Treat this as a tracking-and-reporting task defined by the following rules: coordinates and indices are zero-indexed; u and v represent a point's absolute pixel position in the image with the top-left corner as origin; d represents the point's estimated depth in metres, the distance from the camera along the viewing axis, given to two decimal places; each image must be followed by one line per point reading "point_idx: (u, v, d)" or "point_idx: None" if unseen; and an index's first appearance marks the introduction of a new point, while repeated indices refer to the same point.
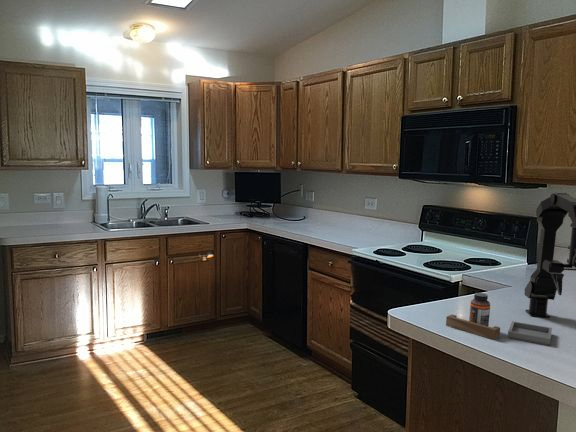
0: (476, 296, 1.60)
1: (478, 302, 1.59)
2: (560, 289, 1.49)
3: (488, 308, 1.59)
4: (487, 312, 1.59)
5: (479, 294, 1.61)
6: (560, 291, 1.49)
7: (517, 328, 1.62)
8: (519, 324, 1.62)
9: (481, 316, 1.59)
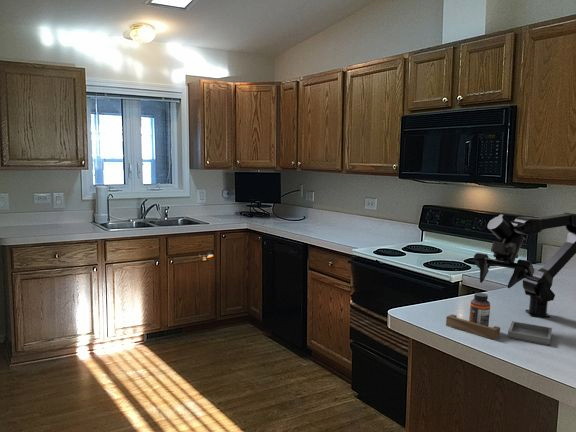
0: (476, 296, 1.60)
1: (478, 302, 1.59)
2: (481, 275, 1.69)
3: (488, 308, 1.59)
4: (487, 312, 1.59)
5: (479, 294, 1.61)
6: (480, 277, 1.69)
7: (517, 328, 1.62)
8: (519, 324, 1.62)
9: (481, 316, 1.59)
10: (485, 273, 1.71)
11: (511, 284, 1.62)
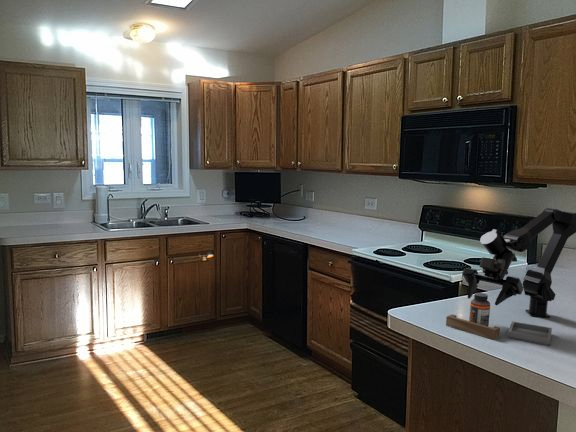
0: (476, 296, 1.60)
1: (478, 302, 1.59)
2: (469, 291, 1.66)
3: (488, 308, 1.59)
4: (487, 312, 1.59)
5: (479, 294, 1.61)
6: (468, 293, 1.66)
7: (517, 328, 1.62)
8: (519, 324, 1.62)
9: (481, 316, 1.59)
10: (473, 289, 1.68)
11: (499, 301, 1.59)
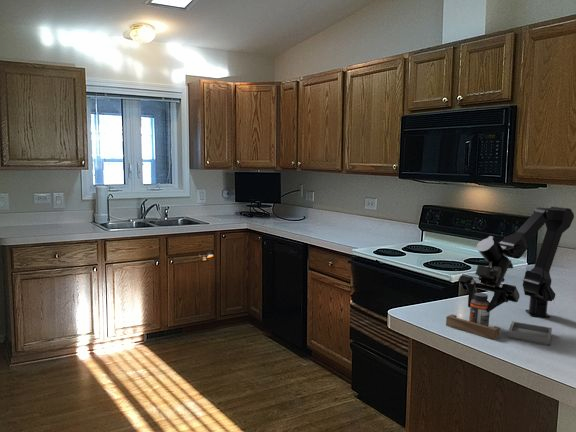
0: (476, 296, 1.60)
1: (478, 302, 1.59)
2: (469, 300, 1.63)
3: None
4: (487, 312, 1.59)
5: (479, 294, 1.61)
6: (469, 302, 1.63)
7: (517, 328, 1.62)
8: (519, 324, 1.62)
9: (481, 315, 1.59)
10: None
11: (490, 308, 1.58)
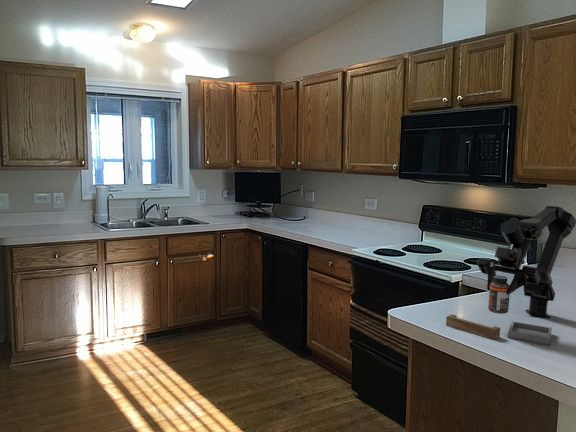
0: (495, 279, 1.58)
1: (498, 285, 1.57)
2: (488, 283, 1.61)
3: None
4: (507, 295, 1.57)
5: (498, 277, 1.58)
6: (488, 284, 1.61)
7: (517, 328, 1.62)
8: (519, 324, 1.62)
9: (501, 298, 1.56)
10: (493, 280, 1.63)
11: (510, 290, 1.56)
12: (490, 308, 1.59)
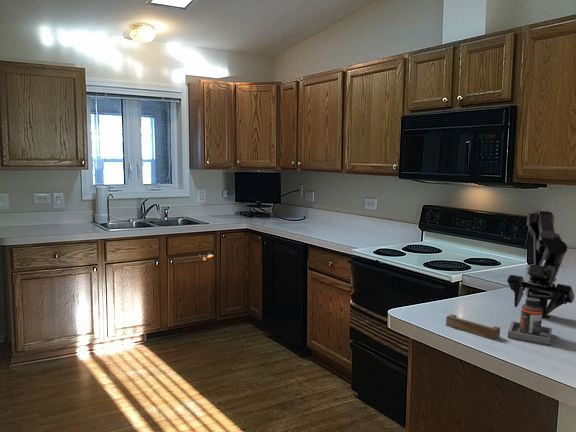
0: (528, 301, 1.54)
1: (531, 307, 1.54)
2: (515, 299, 1.58)
3: (541, 314, 1.53)
4: (540, 317, 1.53)
5: (531, 299, 1.55)
6: (515, 301, 1.58)
7: (517, 328, 1.62)
8: (519, 324, 1.62)
9: (534, 321, 1.53)
10: (520, 297, 1.60)
11: (549, 310, 1.51)
12: (522, 331, 1.56)
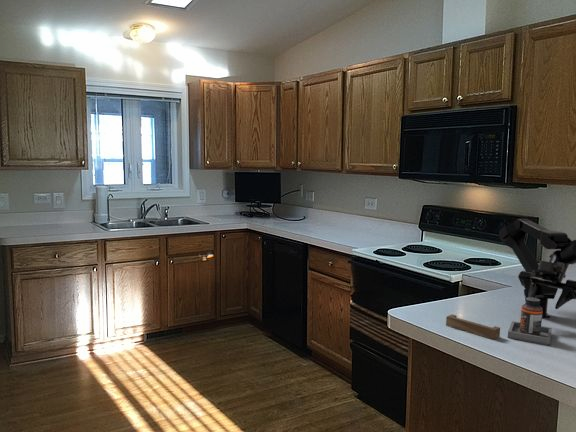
0: (528, 301, 1.54)
1: (531, 307, 1.54)
2: (526, 295, 1.64)
3: (541, 314, 1.53)
4: (540, 317, 1.53)
5: (531, 299, 1.55)
6: (526, 296, 1.64)
7: (517, 328, 1.62)
8: (519, 324, 1.62)
9: (534, 321, 1.53)
10: (530, 292, 1.66)
11: (559, 305, 1.57)
12: (522, 331, 1.56)
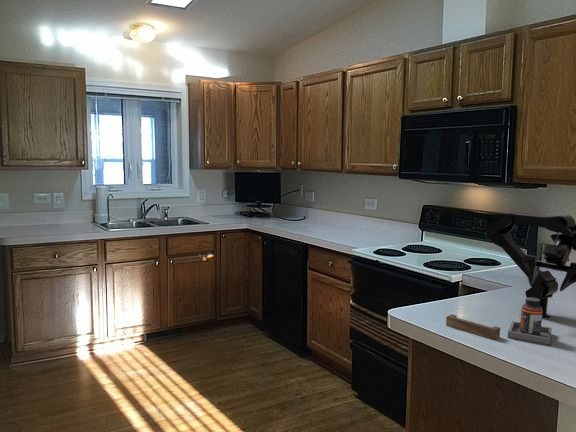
0: (528, 301, 1.55)
1: (531, 307, 1.54)
2: (531, 278, 1.67)
3: (541, 314, 1.53)
4: (540, 317, 1.53)
5: (531, 299, 1.55)
6: (530, 279, 1.67)
7: (517, 328, 1.62)
8: (519, 324, 1.62)
9: (534, 321, 1.53)
10: (535, 275, 1.69)
11: (563, 287, 1.60)
12: (522, 331, 1.56)
